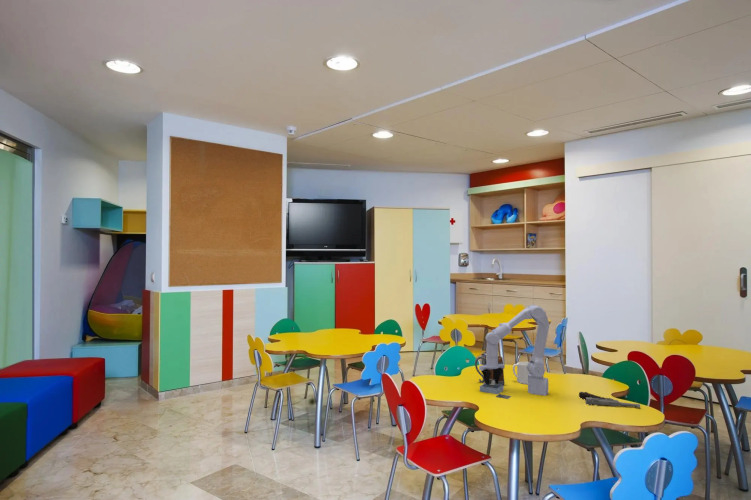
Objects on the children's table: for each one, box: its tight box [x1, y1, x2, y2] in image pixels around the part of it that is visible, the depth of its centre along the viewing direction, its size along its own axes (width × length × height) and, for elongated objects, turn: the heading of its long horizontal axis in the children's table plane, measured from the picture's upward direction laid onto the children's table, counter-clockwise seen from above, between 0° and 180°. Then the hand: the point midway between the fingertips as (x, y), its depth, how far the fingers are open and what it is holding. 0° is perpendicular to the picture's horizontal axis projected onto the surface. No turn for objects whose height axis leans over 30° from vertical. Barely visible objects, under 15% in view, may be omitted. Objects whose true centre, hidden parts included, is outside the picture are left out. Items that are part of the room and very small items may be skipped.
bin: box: [479, 382, 505, 395], centre depth 229 cm, size 9×9×4 cm
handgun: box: [578, 391, 641, 408], centre depth 217 cm, size 3×24×15 cm
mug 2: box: [512, 361, 530, 386], centre depth 252 cm, size 13×10×10 cm
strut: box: [489, 379, 495, 388], centre depth 229 cm, size 4×4×6 cm
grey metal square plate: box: [495, 393, 512, 400], centre depth 219 cm, size 6×6×1 cm
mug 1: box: [474, 355, 505, 386], centre depth 245 cm, size 16×11×15 cm
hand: (491, 383), depth 229 cm, fingers open, 5 cm apart
